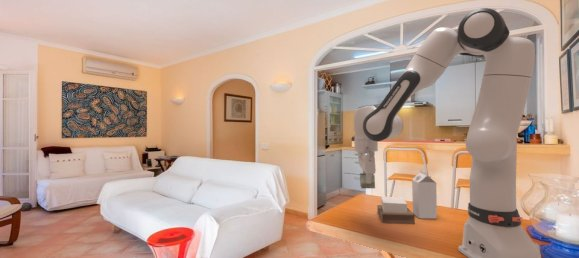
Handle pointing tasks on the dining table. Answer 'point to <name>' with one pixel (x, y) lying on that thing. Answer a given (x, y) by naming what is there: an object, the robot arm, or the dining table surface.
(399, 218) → the walnut base slab
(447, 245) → the dining table surface
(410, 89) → the robot arm
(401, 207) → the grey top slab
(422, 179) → the milk carton
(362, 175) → the sage cube
